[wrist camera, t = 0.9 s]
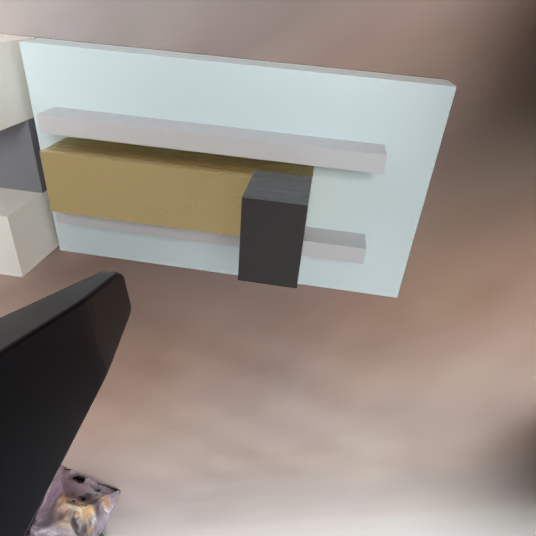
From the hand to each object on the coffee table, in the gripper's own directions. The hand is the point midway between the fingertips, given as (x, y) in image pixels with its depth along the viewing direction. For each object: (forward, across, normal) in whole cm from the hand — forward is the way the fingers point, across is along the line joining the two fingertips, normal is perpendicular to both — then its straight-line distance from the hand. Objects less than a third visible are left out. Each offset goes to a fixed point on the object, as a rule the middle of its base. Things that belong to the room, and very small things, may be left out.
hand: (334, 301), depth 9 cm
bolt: (+9, +6, +1) cm, 11 cm away
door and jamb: (+11, +8, +1) cm, 14 cm away
